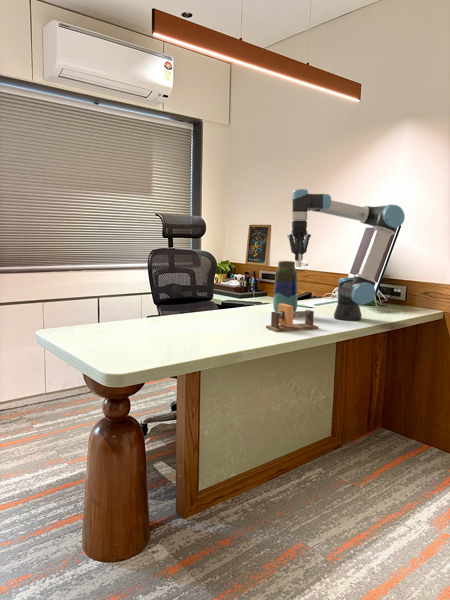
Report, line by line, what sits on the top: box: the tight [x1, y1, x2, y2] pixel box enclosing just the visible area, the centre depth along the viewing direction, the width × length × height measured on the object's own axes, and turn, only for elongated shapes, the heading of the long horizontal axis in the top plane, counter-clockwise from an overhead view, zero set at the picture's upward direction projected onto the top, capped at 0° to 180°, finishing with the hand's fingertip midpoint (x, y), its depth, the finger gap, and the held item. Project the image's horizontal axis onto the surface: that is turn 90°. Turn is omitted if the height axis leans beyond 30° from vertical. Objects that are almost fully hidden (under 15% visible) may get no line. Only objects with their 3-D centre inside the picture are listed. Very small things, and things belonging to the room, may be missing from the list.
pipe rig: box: [265, 309, 320, 333], centre depth 228 cm, size 24×10×9 cm, turn 112°
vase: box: [272, 260, 298, 312], centre depth 266 cm, size 14×14×31 cm
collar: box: [278, 303, 294, 327], centre depth 226 cm, size 3×10×10 cm, turn 22°
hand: (298, 266), depth 238 cm, fingers closed
